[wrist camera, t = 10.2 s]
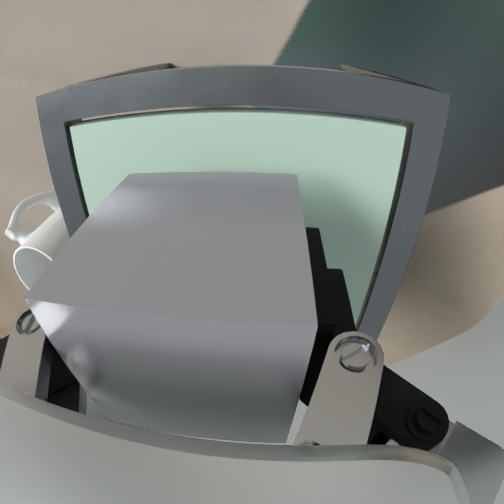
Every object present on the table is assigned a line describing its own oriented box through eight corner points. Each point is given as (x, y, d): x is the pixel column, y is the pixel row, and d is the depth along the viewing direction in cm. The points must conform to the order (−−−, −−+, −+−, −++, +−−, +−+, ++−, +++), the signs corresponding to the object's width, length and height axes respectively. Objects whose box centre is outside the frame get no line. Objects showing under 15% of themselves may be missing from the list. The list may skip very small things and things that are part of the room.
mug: (132, 211, 32) (81, 284, 23) (104, 243, 35) (58, 314, 26) (69, 152, 28) (-3, 207, 19) (47, 191, 31) (-15, 249, 22)
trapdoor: (343, 340, 20) (345, 352, 19) (137, 326, 20) (132, 337, 20) (397, 121, 11) (406, 127, 10) (81, 121, 12) (69, 127, 11)
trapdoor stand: (335, 241, 33) (361, 370, 20) (172, 233, 34) (119, 353, 21) (357, 66, 22) (450, 94, 9) (154, 64, 23) (35, 97, 10)
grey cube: (285, 302, 13) (285, 442, 8) (155, 294, 13) (110, 420, 8) (296, 174, 9) (317, 326, 5) (129, 173, 10) (24, 298, 5)
